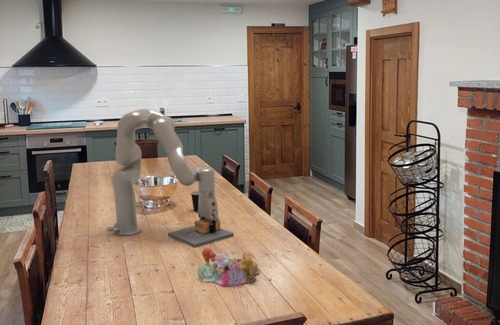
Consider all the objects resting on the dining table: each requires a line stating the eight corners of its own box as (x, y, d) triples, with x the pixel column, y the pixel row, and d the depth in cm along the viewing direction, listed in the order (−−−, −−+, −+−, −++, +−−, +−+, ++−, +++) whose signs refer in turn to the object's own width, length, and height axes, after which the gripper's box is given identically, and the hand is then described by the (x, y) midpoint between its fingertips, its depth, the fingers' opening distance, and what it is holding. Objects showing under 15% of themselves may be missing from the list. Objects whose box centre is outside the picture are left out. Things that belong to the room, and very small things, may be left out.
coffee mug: (193, 213, 284) (192, 195, 282) (190, 209, 292) (189, 191, 290) (214, 211, 287) (213, 193, 285) (211, 207, 295) (210, 189, 293)
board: (194, 247, 231) (194, 244, 231) (167, 235, 248) (167, 232, 248) (233, 236, 245) (233, 232, 245) (205, 225, 262) (205, 222, 262)
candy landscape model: (257, 262, 214) (256, 240, 213) (262, 286, 191) (262, 262, 190) (195, 264, 213) (194, 243, 211) (193, 289, 190) (192, 265, 188)
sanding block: (203, 234, 243) (202, 224, 242) (195, 231, 248) (194, 221, 247) (220, 230, 250) (220, 219, 249) (212, 226, 255) (211, 217, 254)
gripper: (224, 195, 242) (225, 233, 245) (202, 189, 255) (204, 224, 258) (211, 198, 237) (212, 236, 240) (189, 192, 250) (191, 228, 253)
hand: (208, 230), depth 249 cm, fingers closed on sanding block, 6 cm apart
